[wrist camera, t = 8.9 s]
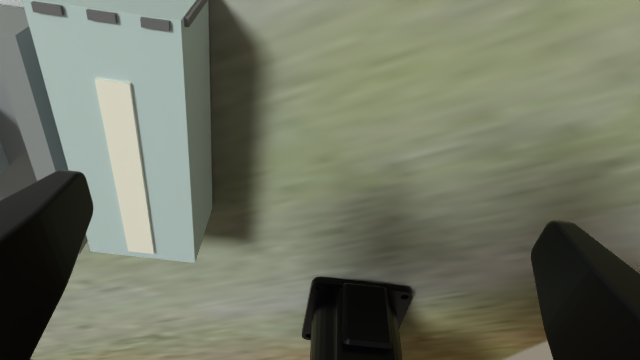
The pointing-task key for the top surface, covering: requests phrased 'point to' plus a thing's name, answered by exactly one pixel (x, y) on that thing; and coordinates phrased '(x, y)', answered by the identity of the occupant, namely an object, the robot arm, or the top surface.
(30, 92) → the tray
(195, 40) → the striped slotted box
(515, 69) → the top surface
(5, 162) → the stub
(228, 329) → the top surface
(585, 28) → the top surface
